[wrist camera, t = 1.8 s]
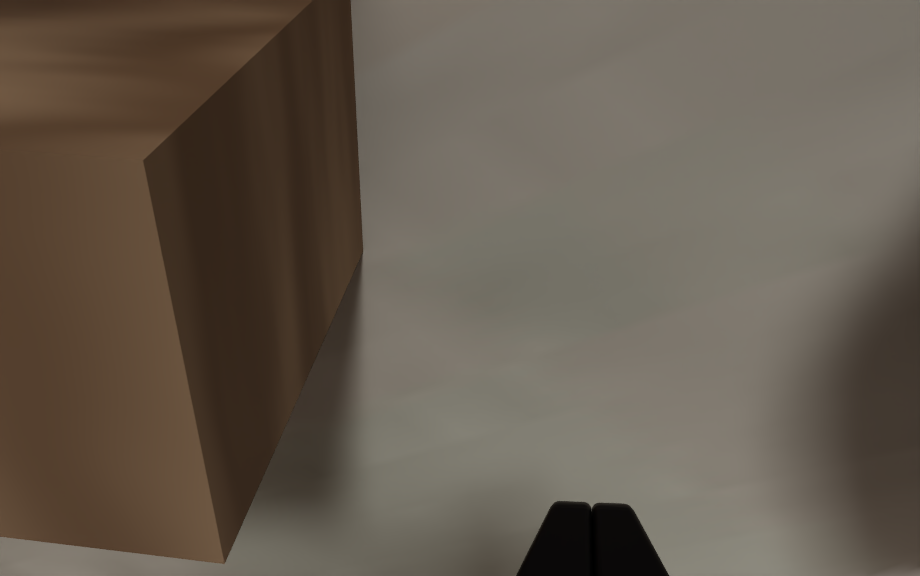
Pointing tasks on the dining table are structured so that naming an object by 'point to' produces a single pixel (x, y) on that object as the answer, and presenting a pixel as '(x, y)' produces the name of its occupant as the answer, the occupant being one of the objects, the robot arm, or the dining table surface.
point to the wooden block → (165, 257)
